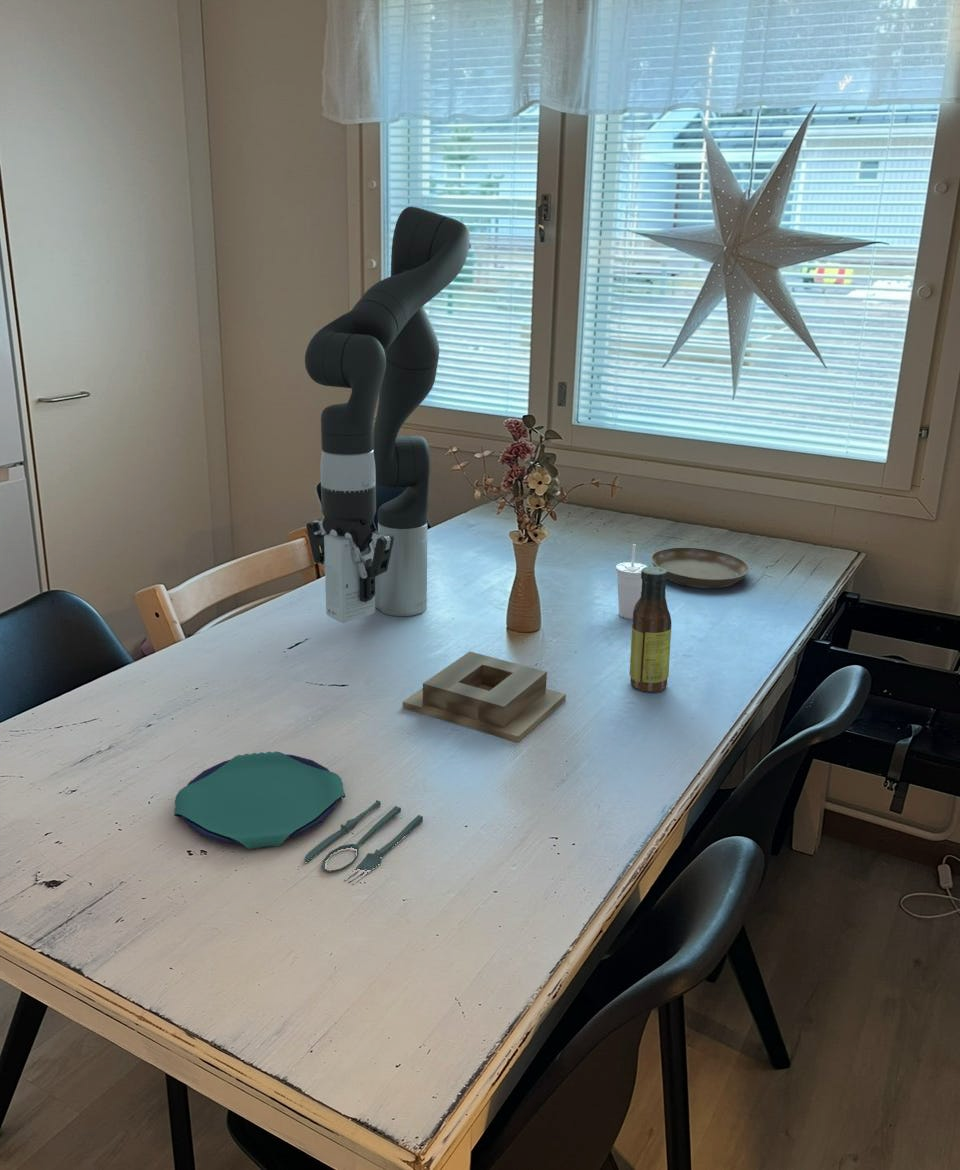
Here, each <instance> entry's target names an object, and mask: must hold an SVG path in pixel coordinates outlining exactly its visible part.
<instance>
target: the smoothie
mask: <svg viewBox="0 0 960 1170" xmlns="http://www.w3.org/2000/svg"><path fill="white" fill-rule="evenodd" d="M636 547H637V544H635V543H633V544H632V550H631V561H629V562H627V561H626V562H620V563H618V564H616V565H615V573H616V578H617V579H616V580H617V581H616V583H617V600H618V603H617V604H618V616H619V617H620V618H623V617H624V619H628V618H629V620H630V619H631V618H632V620H633V610H634V607H635V605H636V603H637V602H638V600H639V599H640V597H641V591H642V578H641V571H642V569H643V568H645V567H649V566H647V565H646V564H643V563H639V562H635V560H636Z"/></svg>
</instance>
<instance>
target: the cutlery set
mask: <svg viewBox="0 0 960 1170" xmlns="http://www.w3.org/2000/svg"><path fill="white" fill-rule="evenodd" d="M343 784H344V782H343V780H342V778H341V777H340V776H339V774H337V773H335V772H332V771H330V770H329V768H327V767H326V766H323V765H322V764H320V763H319V762H316V761H314V759H313V760H312V759H309V758H305V757H303V756H302V757H301V756H297V755H293V754H285V753H283V752H282V751H272V752H271V751H265V752H261V751H260V752H259V753H256V752H253V753H244V754H238V755H236V756H233V757H232V758H231V759H227V760H224V761H222V762H220V763H217V764H215V765H213V766H211V767H209V768H207V769H205V770H203V771H201V773H199V774H198V775H197V776H196V777H194V778H193V779H192V780H190V781H189V782H188V784H187V785H186V786H183V788H181V789H180V790H179V791H178V792H177V794H176V795H175V800H174V802H175V803H174V804H175V805H174V813H173V816H175V817H179V816H178V814H179V815H180V816H182V818H183V820H184V822H185V824H186V825H187V827H189V828H191V829H192V830H193V831H195V832H196V833H198V834H199V835H201V836H202V837H205V838H208V839H211V840H214V841H218V842H221V843H223V844H237V845H243V846H244V847H245V848H247V849H250V850H253V849H256V848H258V849H261V848H264V846H265V847H266V848H269V847H270V848H271V847H279V846H280V845H282V843H283V842H284V841H285V840H287V839H291V838H294V837H296V836H299V835H302V834H304V833H306V832H308V831H309V830H312V829H313V828H315V827H317V826H318V825H321V824H322V823H323V822H324V821H325V820H326V819H327V818H328V817H329V816H330V815H331V813H332V812H334V811H335V809H336V806H337V803H338V801H339V798H341V796H342V797H343V798H342V799H344V798H346V794H345V791H344V785H343ZM381 804H382V803H381V800H377V799H376V800H375V802H374V803H373V804H372V805H370V806H369V807H368V808H367V809H366V810H365V811H363V812H361V813H360V814H358V815H357V816H355V818H351V819H348V820H346V823H345V824H340V829H339V830H337V831H335V832H334V833H332V834H330V835H329V836H328V837H326V838H325V839H324V840H322V841H321V842H320V843H319V844H317V845H315V846H314V847H313V848H311V850H310V851H308V852H307V853H306V854H305V856H304V859H303V861H305V862H307V861H308V860H310V859H311V858H313V857H314V856H315V855H316V854H318V853H319V852H320V853H322V852H323V851H324V850H325V849H326V848H327V846H328V847H329V846H330V845H331V844H333V843H334V842H335V841H337V840H338V839H339V838H340V837H342V836H343V835H344V834H346V833H345V832H348V833H349V831H350V830H351V829H355V827H356V825H357V823H358V821H361V819H362V818H364V817H365V816H366V815H367V814H369V812H371V811H372V810H375V808H377V807H378V806H379V805H381ZM401 812H402V807H399V806H397V805H395V806H394V807H392V808H391V810H389V811H388V812H387V813H386V814H385V815H384V816H383V817H381V819H380V820H379V821H377V822H376V823H375V824H374V825H373V826H372V827H371V828H370V829H369V830H368V831H367V832H366V833H365V834H364V835H363V836H362V837H361V838H360V839H359V840H358V841H357V842H356V843H349V844H344V845H339V846H338V847H336V848H334V849H333V850H331V851H329V852H328V854H327V855H326V856H325V857H324V858H323V860H322V862H321V869H322V870H325V871H326V872H329V873H330V872H334V871H335V870H336V871H340V870H339V869H341V870H343V868H344V869H345V868H347V867H349V866H350V865H349V864H351V863H352V864H353V863H354V862H355V860H356V859H357V858H358V856H359V855H360V854H359V853H360V851H359V850H360V846H361V845H363V843H365V842H366V841H367V840H368V839H369V838H370V837H371V836H373V835H374V834H375V833H376V832H377V831H378V830H379V829H380V828H382V827H383V826H384V825H386V824H387V823H388V822H389V821H391V820H392V819H393V818H395V817H396V816H397V815H399V814H400V813H401ZM423 819H424V817H423V815H420V814H417V816H415V817H414V818H413V820H411V821H410V822H408V824H407V825H406V826H405V827H404V828H403V829H402V830H401V831H400V832H399V833H398V834H397V835H396V836H394V838H393V839H391V840H390V841H389V842H388V843H387V844H385V845H383V847H381V848H380V849H375V851H374V853H373V852H372V853H367V854H366V855H365V857H364V858H363V860H361V861H360V863H358V865H357V866H356V867H355V868H356V869H355V868H354V869H353V870H357V869H360V870H365V869H366V870H365V871H367V870H372V869H373V868H375V867H376V866H378V864H380V863H381V864H382V859H381V858H380V857H383V856H384V855H385V854H387V853H388V852H389V851H390V849H391V848H392V847H393V846H395V844H397V842H399V841H400V840H401V839H402V838H403V837H404V836H406V835H407V834H408V833H409V834H410V833H411V832H413V830H414V828H415V829H416V828H417V827H418V826H420V825H421V824H422V823H423V821H424V820H423ZM421 822H422V823H421ZM420 823H421V824H420ZM416 826H417V827H416ZM348 830H349V831H348ZM410 831H411V832H410ZM342 834H343V835H342ZM409 834H408V835H409ZM408 835H407V836H408ZM407 836H406V837H407ZM337 838H338V839H337ZM401 841H402V840H401ZM401 841H400V842H401ZM332 842H333V843H332ZM400 842H399V843H400ZM360 844H361V845H360ZM359 845H360V846H359ZM397 845H398V844H397ZM351 847H352V848H354V849H357V856H356V855H355V857H354V858H353V859H352V861H351V862H349V863H348V864H346V865H345V866H342V867H341V868H336V869H331V870H332V871H330V870H327V869H325V863H326V862H325V861H326V860H327V859H328V858H329V857H330V855H331V854H333V853H334V852H337V851H338V850H341V849H346V848H351ZM395 847H396V846H395ZM324 848H325V849H324ZM393 848H394V847H393ZM393 848H392V849H393ZM323 849H324V850H323ZM392 849H391V850H392ZM322 850H323V851H322ZM387 851H388V852H387ZM386 852H387V853H386ZM320 853H319V854H320ZM319 854H318V855H319ZM316 856H317V855H316ZM316 856H315V857H316ZM315 857H314V858H315ZM356 857H357V858H356ZM314 858H313V859H314ZM311 860H312V859H311ZM311 860H310V861H311ZM353 861H354V862H353ZM305 862H304V863H305ZM352 864H351V865H352ZM381 864H380V865H381ZM348 865H349V866H348ZM346 866H347V867H346ZM378 867H379V866H378ZM375 869H376V868H375ZM372 871H373V870H372ZM363 873H364V872H363ZM367 873H368V872H367Z"/></svg>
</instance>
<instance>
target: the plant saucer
mask: <svg viewBox="0 0 960 1170" xmlns="http://www.w3.org/2000/svg"><path fill="white" fill-rule="evenodd" d="M650 561H651V563H652V564H653V567H661V568H664V569H666V570H667V580H668V581H670V582H673V583H675V584H678V585H683V586H685V585H686V586H685V587H690V586H691V588H697V587H698V588H699V589H719V588H721V589H722V588H727V587H730V586H733V585H735V584H736V583H738V582H739V581H741V580H743V579H744V578H745V577H746V575H747V574H748V573H749V572H750V566H749V565H748V563H746V561H745V560H742V559H741V558H739V557H738V556H735V555H732V554H730V553H726V552H723V551H719V550H714V549H710V548H709V549H707V548H702V547H701V548H699V547H685V546H684V547H682V546H681V547H671V548H664V549H659V550H658V551H655V552H654V553H653V554H652V555H651V557H650ZM698 588H697V589H698Z"/></svg>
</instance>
